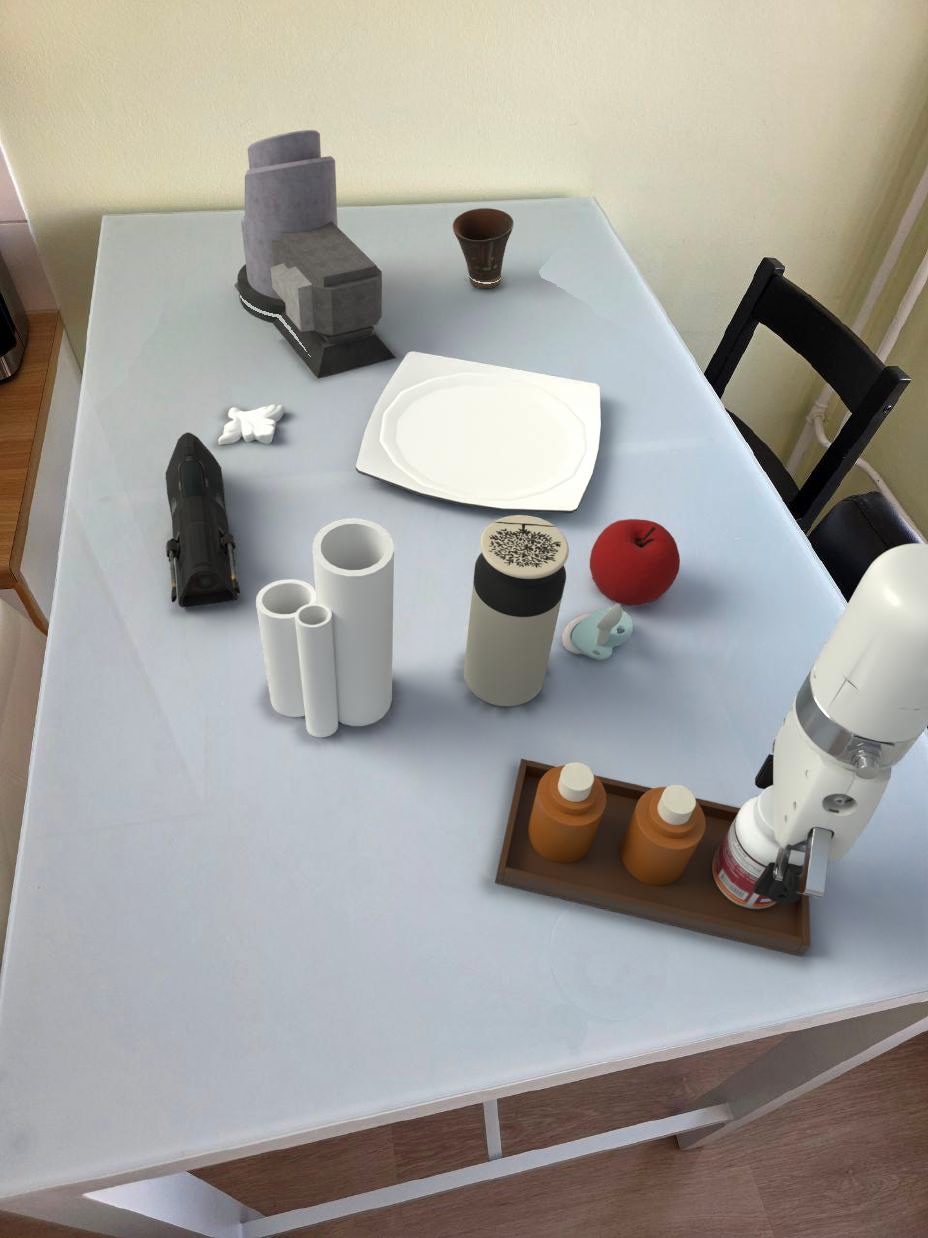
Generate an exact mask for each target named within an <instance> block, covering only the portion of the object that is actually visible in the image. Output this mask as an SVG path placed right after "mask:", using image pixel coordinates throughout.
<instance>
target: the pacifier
mask: <svg viewBox="0 0 928 1238" xmlns="http://www.w3.org/2000/svg"><path fill="white" fill-rule="evenodd" d="M620 628H621V629H623V630H624V631H623V632H621V633H619V632H618V629H620ZM633 629H634V625H633V619H632V617H631V616H630V614H628V613H627V612H626V611H624V610H623V607H622V606H621V604H619V603H615V604H614V605H613V606H612V607H610V608H603V609H600V610H597V611H595V612H589V613H584V614H581V615H579V616H576V617H574V618H573V619H572V620H571V621H569V623H567V625H566V626H565V627H564V629H563V630H562V634H561V644H562V646H563V647H564V649H565V650H567V652H570V653H572V654H575V655H576V654H577V655H585V656H587V657H589V658H592V659H594V660H598V661H606V660H608V659H609V658H610V657H611V656H612V653H613V649H614V648H617V647H620V646H621V645H624V644H625V643H626V642H627V641H628V640H629V639H630V637H631V635H632V634H633Z"/></svg>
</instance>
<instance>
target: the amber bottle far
mask: <svg viewBox="0 0 928 1238" xmlns="http://www.w3.org/2000/svg"><path fill="white" fill-rule="evenodd" d="M595 775H596V774H594V773H593V771H592V769H591V768H590V767H589V766H588V765H586V764H585V763H582V762H579V761H573V762H570V763H567V764H566V765H565V764H563V765H558V766H556V767H555V768H553V769H551V770H549V771H548V772H547V773H545V774H544V776H543V777H542V778H541V780H540V782H539V785H538V789H537V793H536V797H535V801H534V805H533V809H532V813H531V817H530V821H529V825H528V835H529V839H530V842H531V844H532V846H533V847H534V849H535V850H536V851H537V852H538V853H539V854H540V855H541V856H543V857H544V858H546V859H548V860H550V861H553V862H558V863H570V862H574V861H577V860H579V859H581V858H582V857H583V856H585V855H586V854H587V852H588V851H589V849H590V848H591V845H592V842H593V839H594V837H595V834H596V831H597V828H598V826H599V823H600V820H601V817H602V815H603V812H604V809H605V806H606V792H605V789H604V787H603V785H602V783H601V782H600V780H599V779H598V778H597V777H596V776H597V775H596V776H595Z"/></svg>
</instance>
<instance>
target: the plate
mask: <svg viewBox="0 0 928 1238" xmlns="http://www.w3.org/2000/svg"><path fill="white" fill-rule="evenodd" d="M601 416H602V415H601V387H600V386H599V384H597V383H594V382H589V381H583V380H577V379H572V378H567V377H560V376H555V375H549V374H545V373H540V372H539V373H538V372H533V371H529V370H523V369H516V368H513V367H512V368H511V367H505V366H501V365H500V366H499V365H495V364H488V363H482V362H476V361H472V360H465V359H461V358H460V359H459V358H453V357H449V356H443V355H437V354H430V353H425V352H418V351H413V350H412V351H409V352H407V353H406V354H405V357H404V358H403V359H402V360H401V362H400V364H399V366H398V367H397V368H396V370H395V372H394V373H393V375H391V377H390V380H389V381H388V382H387V384H386V386H385V387H384V389H383V391H382V392H381V395H380V396H379V397H378V400H377V402H376V404H375V405H374V407H373V410H372V413H371V415H370V417H369V419H368V422H367V424H366V427H365V430H364V433H363V436H362V439H361V444H360V448H359V451H358V456H357V460H356V464H355V468H354V469H355V471H356V472H357V473H358V474H360V475H363V476H366V477H368V478H371V479H374V480H377V481H379V482H382V483H386V484H388V485H391V486H394V487H396V488H399V489H402V490H405V491H408V492H410V493H412V494H416V495H418V496H422V497H425V498H430V499H435V500H439V501H443V502H447V503H451V504H456V505H460V506H465V507H472V508H479V509H485V510H486V509H487V510H494V511H499V512H520V513H545V514H546V513H547V514H548V513H549V514H573V513H575V512H577V511H578V509H579V507H580V504H581V502H582V500H583V497H584V495H585V493H586V491H587V488H588V486H589V483H590V482H591V479H592V476H593V474H594V473H593V472H594V469H595V465H596V463H597V457H598V454H599V447H600V438H601V437H600V436H601V427H602V422H601V420H602V419H601Z"/></svg>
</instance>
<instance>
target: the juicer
mask: <svg viewBox="0 0 928 1238" xmlns="http://www.w3.org/2000/svg"><path fill="white" fill-rule="evenodd" d="M321 151H322V150H321V134H320V132H319V131H317V130H315V129H311V130H310V129H307V130H306V129H304V130H297V131H291V132H290V131H289V132H285V133H281V134H277V135H273V136H269V137H266V138H263V139H260V140H257V141H255V142H253V143H251V144H250V145H249V146H248V148H247V158H248V168H249V169H247V170H246V172H245V175H244V216H243V217H242V219H241V220H240V225H241V233H242V242H243V251H244V260H245V264H244V265H243V266H241V268H240V269H239V271H238V274H237V277H236V278H237V279H236V280H237V281H236V283H235V284H233V285H234V288H235V289H236V290H237V291H238V296H239V301H240V304H241V306H242V307H243V309H244V310H245V311H246V312H247V313H249V314H250V315H252V316H253V317H255V318H257V319H259V320H262V321H265V322H268V323H271V324H273V326H274V327H275V328H276V329H277V331H278V332H279V333H280V334H281V336H282V337H283V338H284V339H285V341H287V343H288V344H289V346H291V348H292V349H293V351H295V353H296V354H297V355H298V356H299V357H300V359H301V360H302V361H303V362H304V364H305V365H306V366H307V367H308V368H309V370H310V371H311V373H313V374H314V376H315V377H316V378H317V379H320V378H325V377H328V376H332V375H336V374H339V373H343V372H347V371H351V370H355V369H360V368H362V367H366V366H370V365H373V364H377V363H381V362H385V361H388V360H392V359H396V358H397V357H396V356H395V355H394V353H393V352H392V351H391V349H390V348H388V347H387V345H386V344H385V343H384V342H383V341H382V339H380V337H379V336H378V335H377V334H376V333H375V332H374V330H375V327H374V326H377V325H378V324H379V321H380V320H381V318H382V316H383V311H382V310H383V289H382V288H383V271H382V269H380V268H379V267H378V266H377V264H376V263H375V262H374V261H373V260H372V259H371V258H370V257H369V256H367V254H366V253H365V252H364V251H363V250H362V249H361V248H360V247H358V245H356V243H355V242H353V241H352V240H351V238H349V236H348V235H346V234H345V233H344V232H343V231H342V230H341V229H340V227H338V203H337V174H336V171H337V170H336V159H335V158H334V157H333V156H332V155H329V156H322V152H321ZM239 293H240V294H239ZM240 295H241V296H242V298H243V299H244V300H246V301H247V302H248V303H250V304H251V305H252V306H254V307H256V308H258V309H260V310H262V311H266V312H269V313H273V314H279V315H281V316H282V318H283V319H284V320H285V322H286V323H287V325H289V326H290V327H291V330H293V332H294V333H295V334H296V336H297V337H298V339H299V341H300V342H301V343H302V345H303V346H304V347H305V349H306V351H307V352H306V351H305V350H304V348H303V347H302V346H301V345H300V344H299V342H298V341H297V340H296V339H295V338H294V336H293V335H292V334H291V333H290V332H289V330H288V329H287V328H286V327H285V326H284V324H283V323H282V322H281V321H280V320H279V318H277V317H272V316H268V315H264V314H262V313H259V312H257V311H255V310H253V309H251V308H250V307H248V306H247V305H246V304H245V303H244V302H243V301H242V299H241V298H240ZM308 354H309V355H310V356H311V357H310V356H309V355H308Z"/></svg>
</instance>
